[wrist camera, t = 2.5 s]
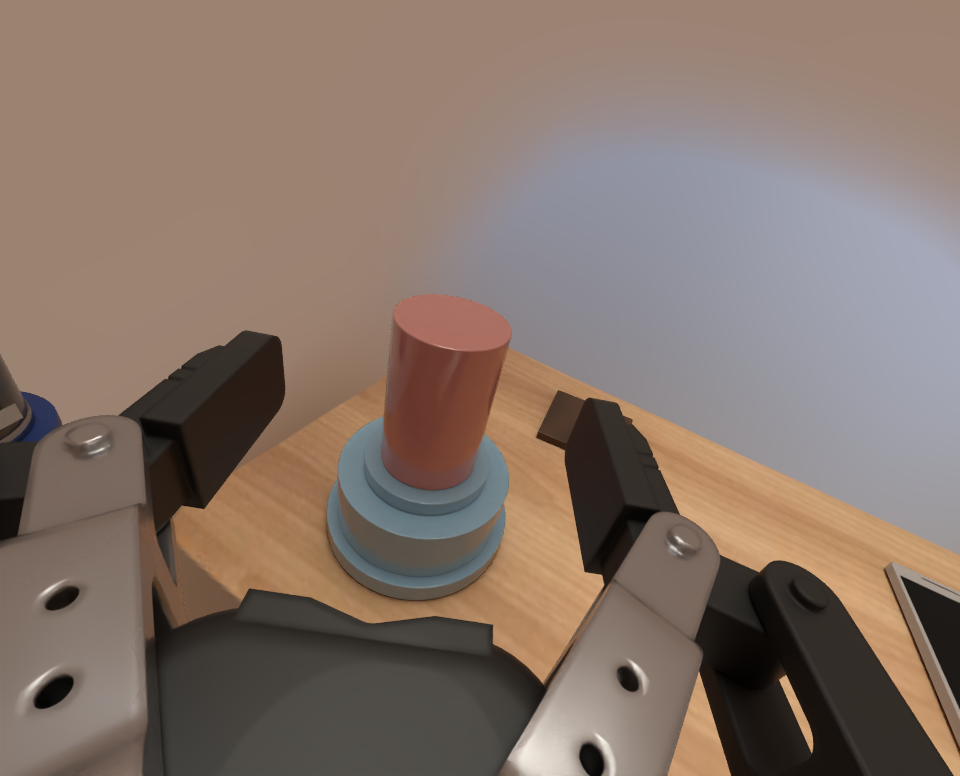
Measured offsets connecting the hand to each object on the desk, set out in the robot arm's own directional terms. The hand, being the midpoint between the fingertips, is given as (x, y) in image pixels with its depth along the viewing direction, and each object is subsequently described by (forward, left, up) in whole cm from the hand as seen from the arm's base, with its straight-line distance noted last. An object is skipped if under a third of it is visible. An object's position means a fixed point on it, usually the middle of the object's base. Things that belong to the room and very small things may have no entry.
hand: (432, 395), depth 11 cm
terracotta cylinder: (-4, +11, -13) cm, 17 cm away
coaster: (+6, +30, -20) cm, 36 cm away
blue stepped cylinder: (-4, +11, -20) cm, 23 cm away
